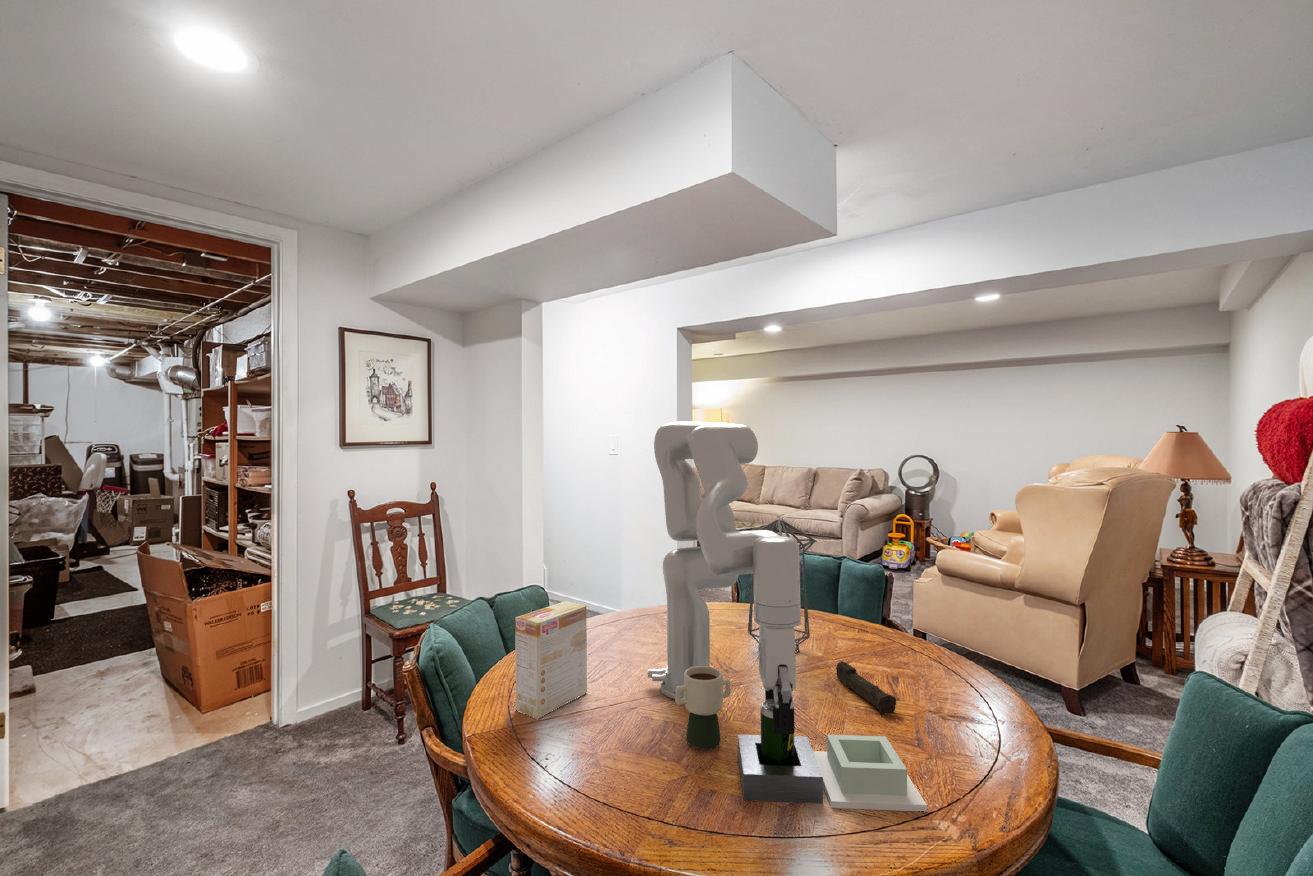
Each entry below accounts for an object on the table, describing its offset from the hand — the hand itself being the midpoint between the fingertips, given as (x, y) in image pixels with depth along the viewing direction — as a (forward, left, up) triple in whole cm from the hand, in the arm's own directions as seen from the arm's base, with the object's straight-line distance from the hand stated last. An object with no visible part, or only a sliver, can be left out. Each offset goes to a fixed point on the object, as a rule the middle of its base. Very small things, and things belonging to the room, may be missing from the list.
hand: (779, 718), depth 92 cm
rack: (+14, +1, -10) cm, 17 cm away
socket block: (0, +1, -10) cm, 10 cm away
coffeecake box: (-44, +26, -10) cm, 52 cm away
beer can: (0, +1, -10) cm, 10 cm away
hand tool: (+22, +33, -11) cm, 41 cm away
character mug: (-12, +11, -10) cm, 19 cm away
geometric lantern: (+9, +60, -10) cm, 61 cm away
